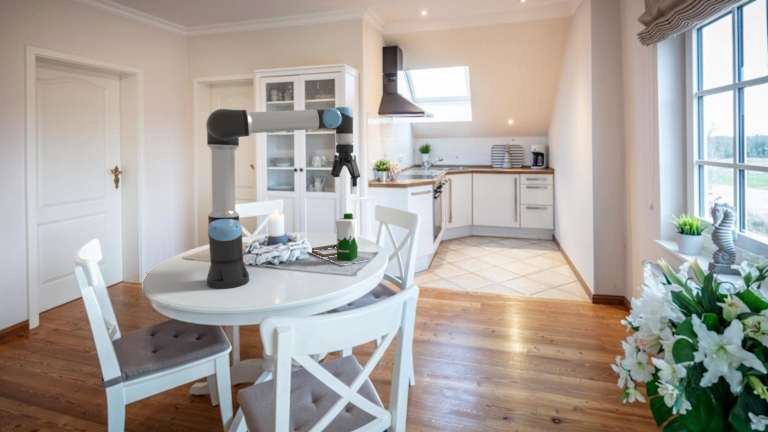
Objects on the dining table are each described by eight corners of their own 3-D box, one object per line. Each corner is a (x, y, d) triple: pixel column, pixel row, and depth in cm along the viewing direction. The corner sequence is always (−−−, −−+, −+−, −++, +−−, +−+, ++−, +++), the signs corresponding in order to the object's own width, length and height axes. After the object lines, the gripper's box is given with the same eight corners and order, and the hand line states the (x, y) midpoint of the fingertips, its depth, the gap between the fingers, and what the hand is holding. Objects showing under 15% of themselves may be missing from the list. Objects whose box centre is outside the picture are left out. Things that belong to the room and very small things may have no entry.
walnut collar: (353, 254, 211) (353, 249, 210) (323, 259, 201) (323, 254, 201) (335, 248, 223) (335, 244, 223) (307, 252, 214) (307, 248, 213)
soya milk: (359, 256, 201) (359, 213, 198) (352, 261, 192) (352, 216, 189) (341, 255, 203) (341, 212, 200) (334, 260, 195) (333, 215, 192)
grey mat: (368, 261, 197) (368, 259, 197) (342, 266, 188) (342, 264, 188) (351, 255, 208) (351, 253, 208) (325, 260, 199) (325, 257, 199)
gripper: (368, 143, 183) (368, 194, 186) (337, 144, 202) (338, 190, 206) (352, 143, 178) (353, 195, 181) (322, 144, 198) (323, 191, 201)
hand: (345, 192), depth 193 cm, fingers open, 13 cm apart
